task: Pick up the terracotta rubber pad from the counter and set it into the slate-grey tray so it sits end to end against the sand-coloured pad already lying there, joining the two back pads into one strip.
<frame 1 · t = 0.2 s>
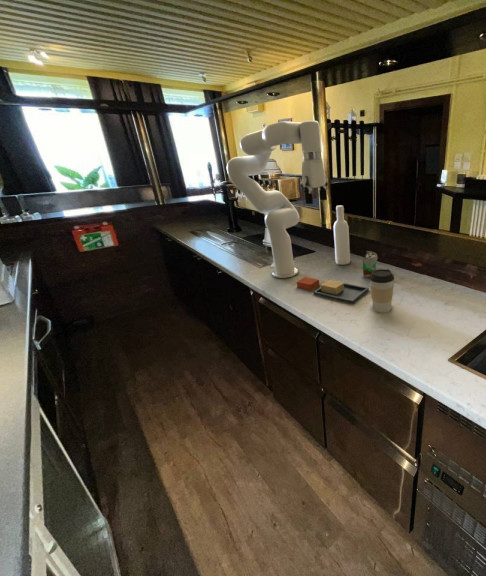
hand: (316, 201, 125), 36 cm above the worktop, tool pointing down, fingers open, 9 cm apart
tray: (341, 293, 128), on the worktop
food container: (371, 274, 146), on the worktop
bottle: (343, 262, 163), on the worktop
pad b: (308, 287, 136), on the worktop
coffee cup: (381, 308, 115), on the worktop
pad a: (332, 290, 130), resting on tray
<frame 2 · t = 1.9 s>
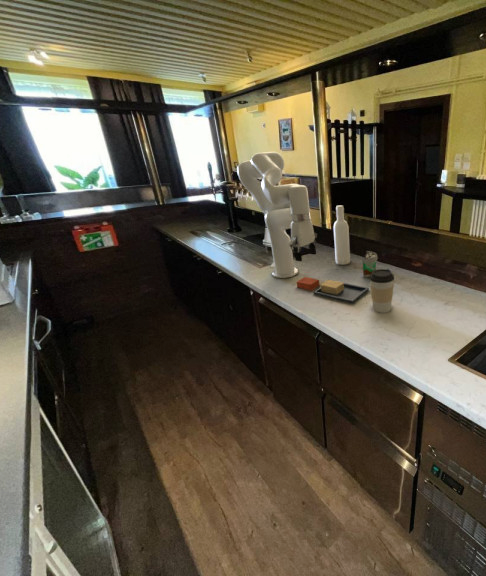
hand: (306, 257, 130), 14 cm above the worktop, tool pointing down, fingers open, 9 cm apart
nothing on the worktop moved.
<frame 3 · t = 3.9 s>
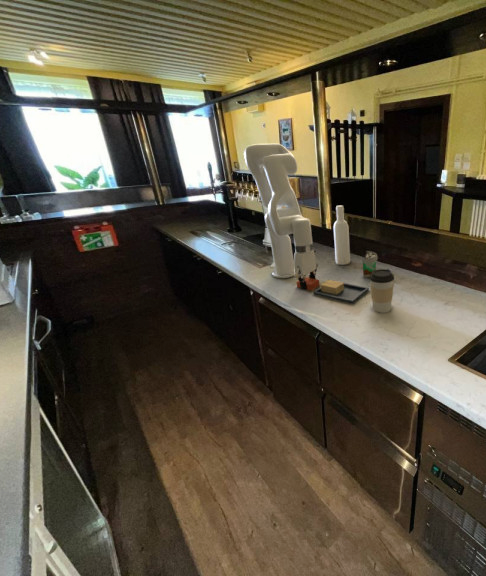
hand: (308, 285, 135), 1 cm above the worktop, tool pointing down, fingers closed on pad b, 6 cm apart
pad b: (308, 287, 136), on the worktop, touching gripper
everything else where it was.
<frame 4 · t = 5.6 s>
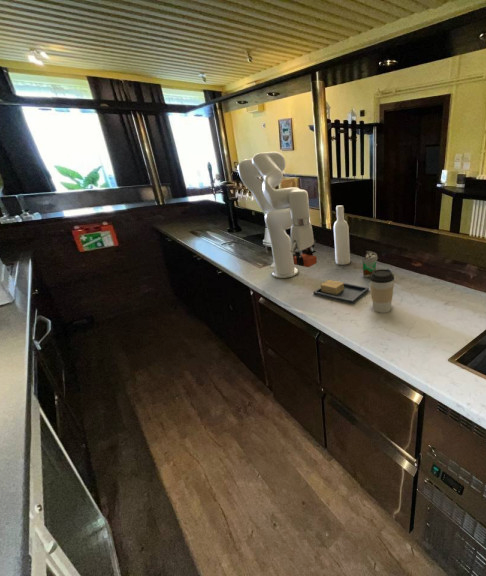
hand: (305, 262, 131), 12 cm above the worktop, tool pointing down, fingers closed on pad b, 6 cm apart
pad b: (305, 263, 131), point 11 cm above the worktop, touching gripper
everything else where it was.
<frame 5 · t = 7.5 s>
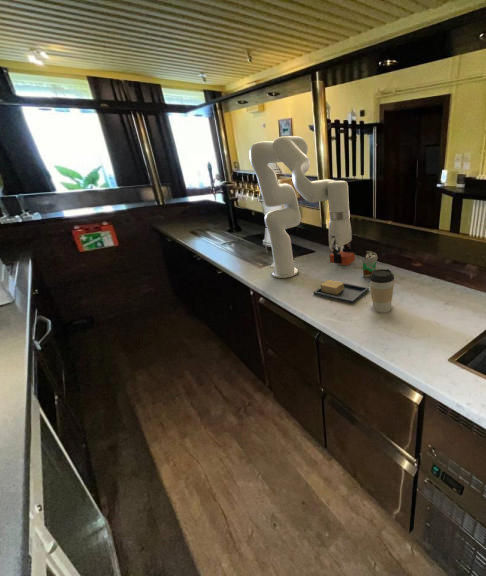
hand: (342, 260, 121), 15 cm above the worktop, tool pointing down, fingers closed on pad b, 6 cm apart
pad b: (342, 261, 121), point 15 cm above the worktop, touching gripper
everything else where it was.
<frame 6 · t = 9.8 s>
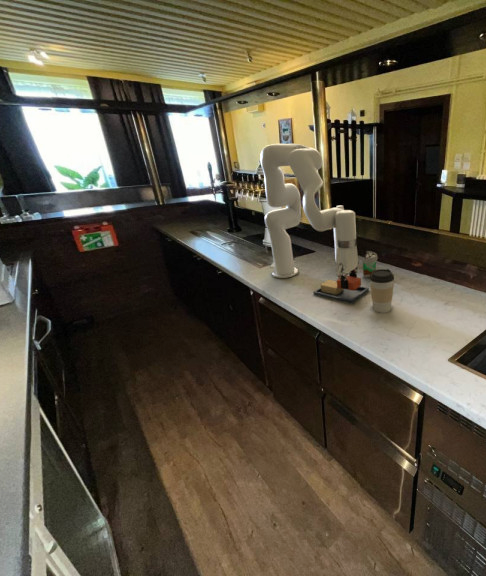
hand: (349, 285, 124), 5 cm above the worktop, tool pointing down, fingers closed on pad b, 6 cm apart
pad b: (349, 286, 125), point 4 cm above the worktop, touching gripper
everything else where it was.
when the fingers open (1 cm above the worktop, at t = 11.3 s): pad b stays where it is, resting on tray.
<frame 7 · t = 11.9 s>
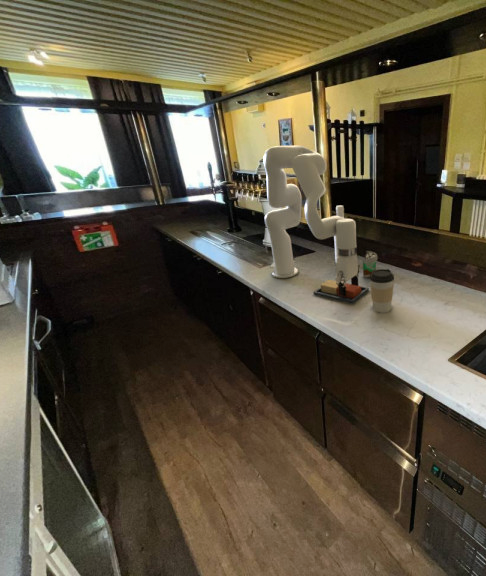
hand: (348, 290, 126), 2 cm above the worktop, tool pointing down, fingers open, 9 cm apart
pad b: (349, 294, 126), resting on tray
everything else where it was.
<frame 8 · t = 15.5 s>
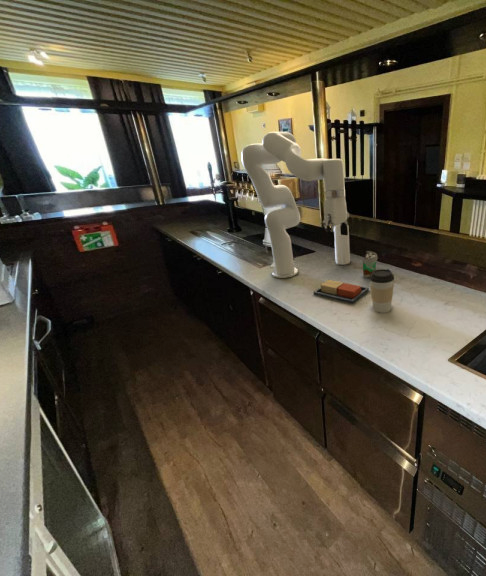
hand: (337, 237, 122), 23 cm above the worktop, tool pointing down, fingers open, 9 cm apart
nothing on the worktop moved.
at the end: pad b 0.6 cm from the target spot in the tray, point 0.5 cm above the tray's base; pad b 8.6 cm from the pad a (horizontally); pad b tilted 0° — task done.
